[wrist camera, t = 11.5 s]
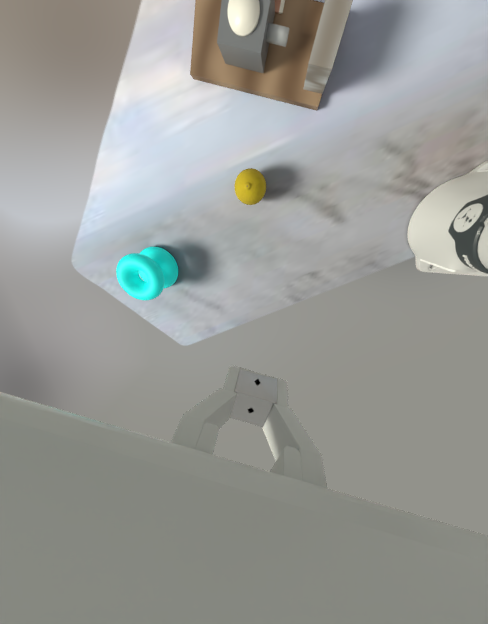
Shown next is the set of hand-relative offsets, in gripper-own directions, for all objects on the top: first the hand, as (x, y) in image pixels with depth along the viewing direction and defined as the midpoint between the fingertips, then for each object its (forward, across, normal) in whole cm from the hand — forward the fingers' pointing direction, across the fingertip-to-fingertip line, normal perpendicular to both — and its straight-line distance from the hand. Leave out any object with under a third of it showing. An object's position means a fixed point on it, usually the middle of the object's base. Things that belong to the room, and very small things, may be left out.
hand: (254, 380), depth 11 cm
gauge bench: (+39, +10, -27) cm, 49 cm away
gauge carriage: (+37, +11, -28) cm, 48 cm away
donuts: (+39, +25, +12) cm, 48 cm away
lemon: (+39, +7, -9) cm, 41 cm away
